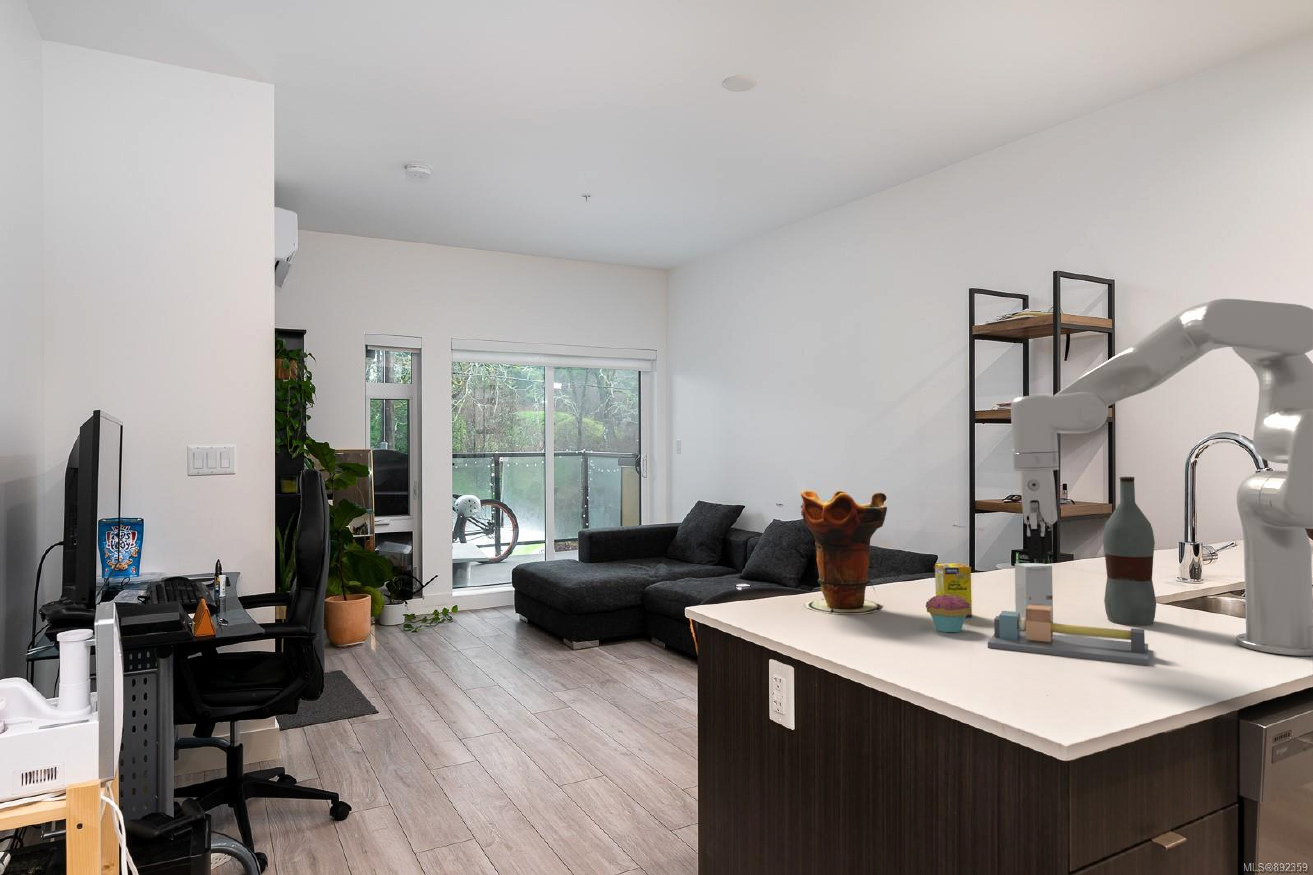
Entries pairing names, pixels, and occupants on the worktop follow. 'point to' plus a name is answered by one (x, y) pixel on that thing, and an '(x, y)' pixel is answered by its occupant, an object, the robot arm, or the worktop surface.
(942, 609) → the cupcake
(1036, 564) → the skincare box
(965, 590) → the supplement box
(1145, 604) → the bottle
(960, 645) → the worktop surface
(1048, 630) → the sleeve
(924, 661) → the worktop surface
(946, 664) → the worktop surface
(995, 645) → the cable board
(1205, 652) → the worktop surface
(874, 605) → the decorative vase
